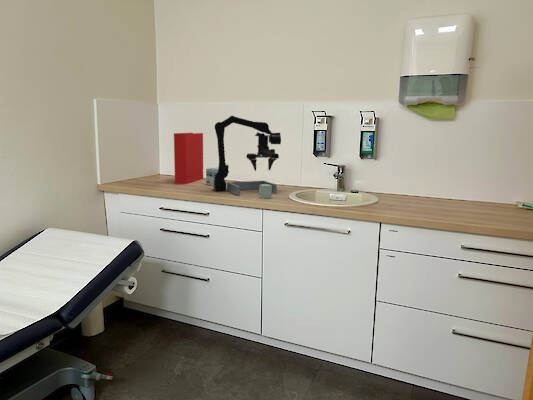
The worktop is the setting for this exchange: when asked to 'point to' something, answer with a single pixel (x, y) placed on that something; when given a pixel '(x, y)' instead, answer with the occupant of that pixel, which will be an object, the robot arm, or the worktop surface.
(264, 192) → the sage block
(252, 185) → the open-front crate
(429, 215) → the worktop surface
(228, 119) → the robot arm
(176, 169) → the book
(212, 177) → the light bulb box
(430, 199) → the worktop surface
